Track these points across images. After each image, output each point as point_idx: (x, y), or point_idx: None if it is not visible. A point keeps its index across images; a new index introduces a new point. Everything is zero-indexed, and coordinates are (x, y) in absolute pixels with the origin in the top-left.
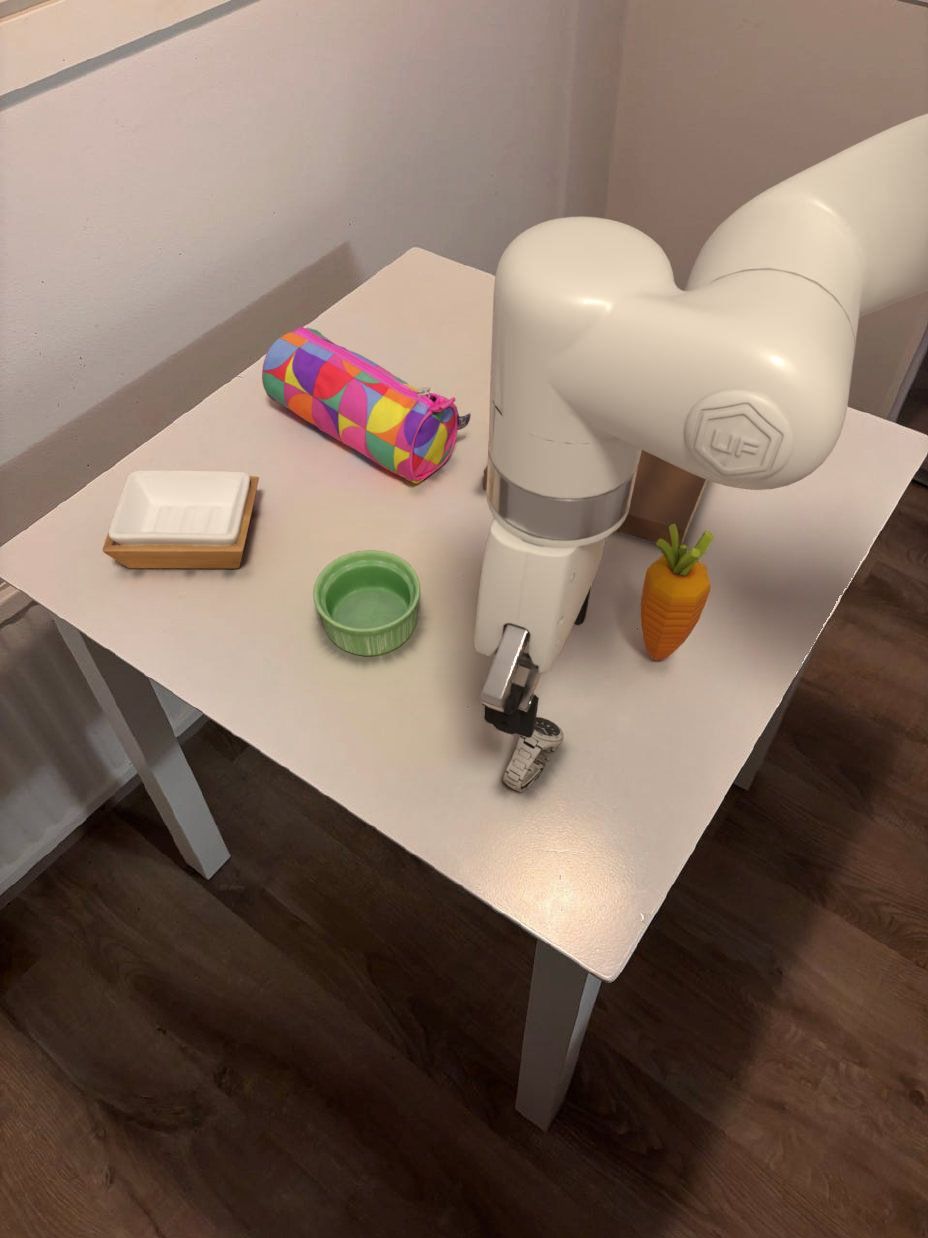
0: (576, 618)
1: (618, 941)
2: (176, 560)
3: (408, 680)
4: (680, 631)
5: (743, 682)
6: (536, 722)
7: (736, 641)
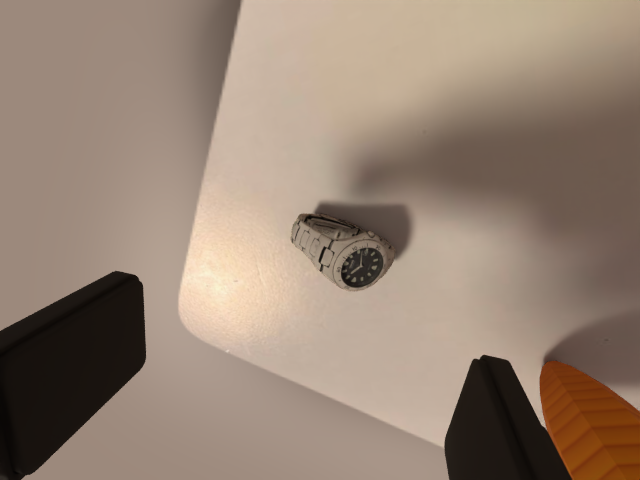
0: (451, 455)
1: (199, 333)
2: None
3: (458, 18)
4: None
5: None
6: (373, 252)
7: None
